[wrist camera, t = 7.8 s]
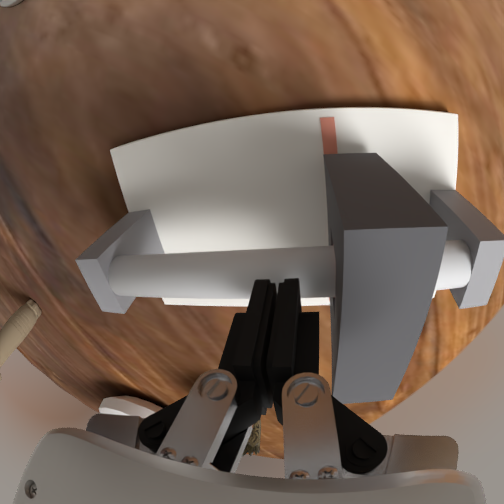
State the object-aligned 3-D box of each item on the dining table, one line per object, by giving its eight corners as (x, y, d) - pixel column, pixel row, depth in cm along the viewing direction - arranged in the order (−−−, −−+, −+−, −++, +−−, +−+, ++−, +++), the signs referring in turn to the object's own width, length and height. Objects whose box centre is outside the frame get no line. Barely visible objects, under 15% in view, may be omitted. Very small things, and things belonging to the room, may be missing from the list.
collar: (323, 154, 14) (343, 230, 7) (376, 152, 13) (448, 226, 6) (329, 286, 19) (331, 404, 11) (370, 284, 18) (392, 399, 11)
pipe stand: (119, 145, 18) (42, 182, 11) (449, 112, 12) (525, 135, 6) (169, 295, 25) (132, 360, 18) (429, 288, 20) (459, 362, 13)
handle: (42, 301, 32) (-13, 371, 20) (48, 324, 36) (2, 389, 23) (22, 286, 32) (-33, 350, 19) (30, 310, 35) (-17, 370, 23)
